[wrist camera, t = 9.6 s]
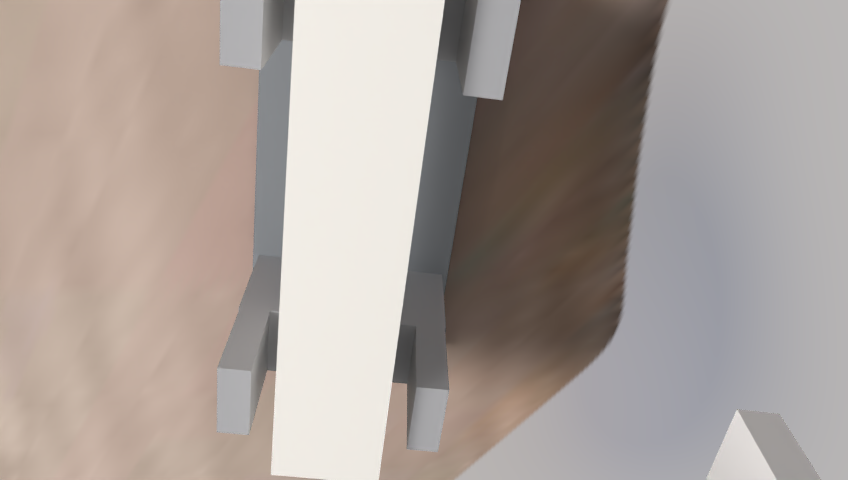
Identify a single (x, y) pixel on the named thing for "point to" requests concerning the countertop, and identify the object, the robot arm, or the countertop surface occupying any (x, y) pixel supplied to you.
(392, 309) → the rail
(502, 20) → the bracket stand
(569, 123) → the countertop surface
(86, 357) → the countertop surface
